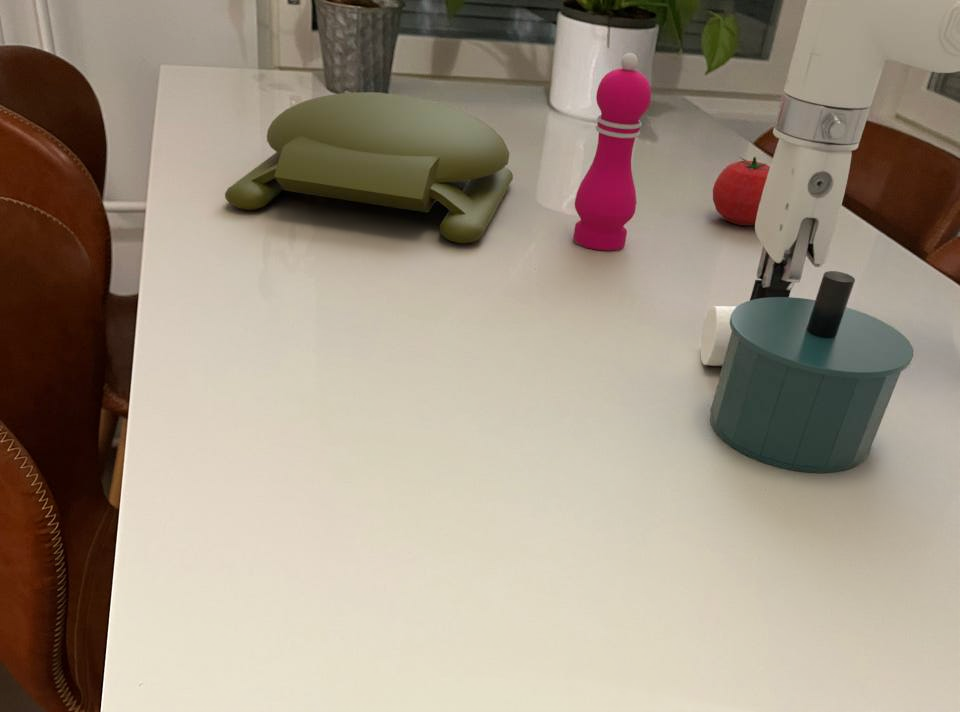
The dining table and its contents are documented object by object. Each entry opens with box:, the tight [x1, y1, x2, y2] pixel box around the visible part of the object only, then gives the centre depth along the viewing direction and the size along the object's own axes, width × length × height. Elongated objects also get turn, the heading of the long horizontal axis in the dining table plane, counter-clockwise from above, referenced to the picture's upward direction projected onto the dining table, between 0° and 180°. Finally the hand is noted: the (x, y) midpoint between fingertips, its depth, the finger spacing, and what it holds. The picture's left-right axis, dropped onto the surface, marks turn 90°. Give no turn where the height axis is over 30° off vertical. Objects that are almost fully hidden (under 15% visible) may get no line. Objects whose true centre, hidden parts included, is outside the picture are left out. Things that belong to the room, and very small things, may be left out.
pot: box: [709, 331, 902, 474], centre depth 82 cm, size 14×14×8 cm
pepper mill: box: [573, 52, 652, 252], centre depth 112 cm, size 7×7×20 cm
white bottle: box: [700, 305, 737, 367], centre depth 93 cm, size 6×12×6 cm, turn 88°
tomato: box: [712, 156, 770, 226], centre depth 128 cm, size 9×9×8 cm
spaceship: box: [224, 91, 514, 244], centre depth 124 cm, size 35×31×10 cm
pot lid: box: [730, 270, 914, 378], centre depth 78 cm, size 15×15×6 cm
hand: (761, 323), depth 98 cm, fingers closed
